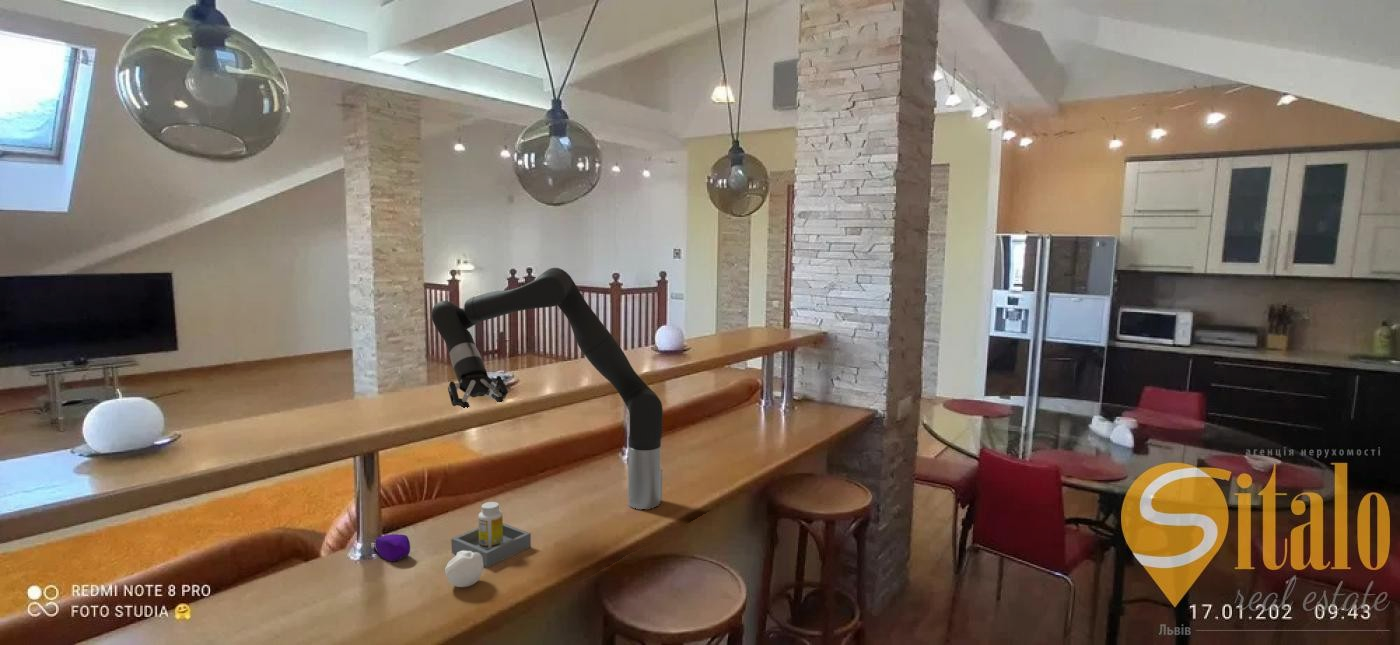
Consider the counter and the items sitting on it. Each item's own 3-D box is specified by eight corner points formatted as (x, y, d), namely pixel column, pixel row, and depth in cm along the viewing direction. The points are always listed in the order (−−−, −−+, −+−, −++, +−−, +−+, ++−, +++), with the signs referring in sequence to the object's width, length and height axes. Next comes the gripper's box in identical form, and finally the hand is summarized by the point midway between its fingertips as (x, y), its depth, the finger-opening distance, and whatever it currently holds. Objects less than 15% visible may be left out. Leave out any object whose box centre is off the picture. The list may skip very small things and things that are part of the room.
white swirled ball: (472, 572, 146) (471, 539, 145) (491, 583, 141) (491, 550, 141) (439, 586, 140) (438, 552, 139) (458, 598, 135) (456, 563, 134)
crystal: (380, 527, 160) (416, 536, 152) (382, 546, 160) (418, 557, 152) (361, 534, 156) (397, 544, 148) (363, 554, 156) (399, 565, 148)
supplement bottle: (504, 539, 160) (504, 500, 159) (500, 550, 155) (500, 509, 154) (481, 540, 160) (480, 500, 159) (476, 551, 154) (475, 509, 153)
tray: (496, 533, 166) (495, 520, 166) (530, 546, 159) (530, 533, 159) (451, 552, 156) (451, 538, 155) (486, 567, 148) (486, 553, 148)
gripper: (444, 357, 166) (462, 410, 159) (497, 352, 176) (517, 401, 169) (437, 375, 171) (455, 426, 164) (489, 369, 180) (508, 417, 173)
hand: (486, 414), depth 166 cm, fingers open, 8 cm apart
